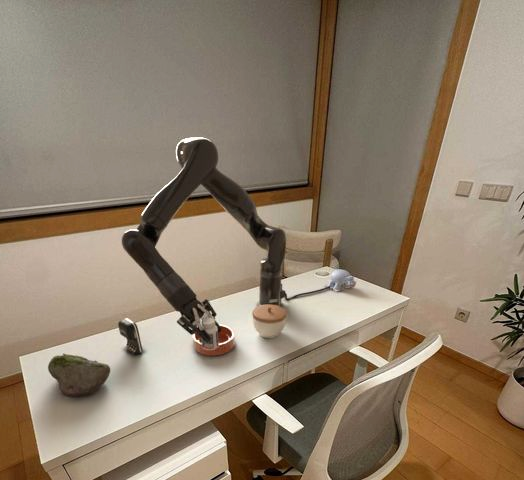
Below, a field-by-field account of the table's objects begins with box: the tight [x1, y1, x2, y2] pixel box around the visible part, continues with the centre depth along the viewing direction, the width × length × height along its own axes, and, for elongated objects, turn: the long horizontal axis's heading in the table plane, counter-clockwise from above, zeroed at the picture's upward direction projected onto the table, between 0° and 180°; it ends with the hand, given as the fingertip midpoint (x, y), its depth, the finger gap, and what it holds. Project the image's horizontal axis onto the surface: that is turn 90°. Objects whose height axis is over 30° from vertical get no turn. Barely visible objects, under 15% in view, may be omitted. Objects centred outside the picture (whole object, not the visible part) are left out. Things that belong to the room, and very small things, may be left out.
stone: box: [47, 353, 111, 398], centre depth 94 cm, size 19×14×10 cm
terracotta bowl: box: [192, 324, 236, 356], centre depth 113 cm, size 14×14×4 cm
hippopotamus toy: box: [326, 265, 357, 292], centre depth 157 cm, size 11×15×10 cm
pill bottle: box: [200, 317, 219, 350], centre depth 96 cm, size 5×5×9 cm
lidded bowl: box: [251, 304, 288, 339], centre depth 119 cm, size 13×13×11 cm
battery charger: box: [117, 317, 144, 355], centre depth 107 cm, size 7×4×11 cm, turn 49°
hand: (214, 336), depth 96 cm, fingers closed on pill bottle, 5 cm apart
